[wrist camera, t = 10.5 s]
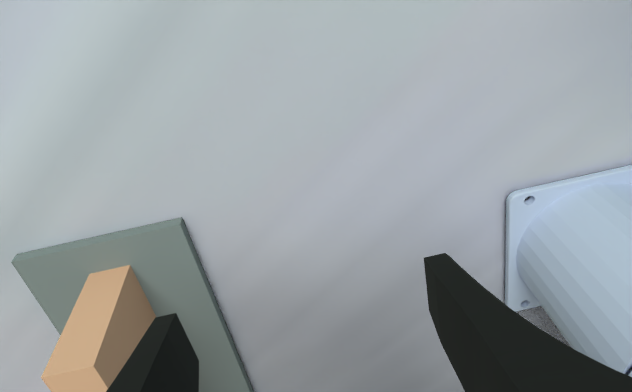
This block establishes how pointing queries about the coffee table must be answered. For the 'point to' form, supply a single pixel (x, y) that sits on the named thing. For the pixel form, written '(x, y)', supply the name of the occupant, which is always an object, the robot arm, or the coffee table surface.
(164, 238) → the slate mat
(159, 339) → the robot arm
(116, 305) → the tall tan wooden post
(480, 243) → the coffee table surface
